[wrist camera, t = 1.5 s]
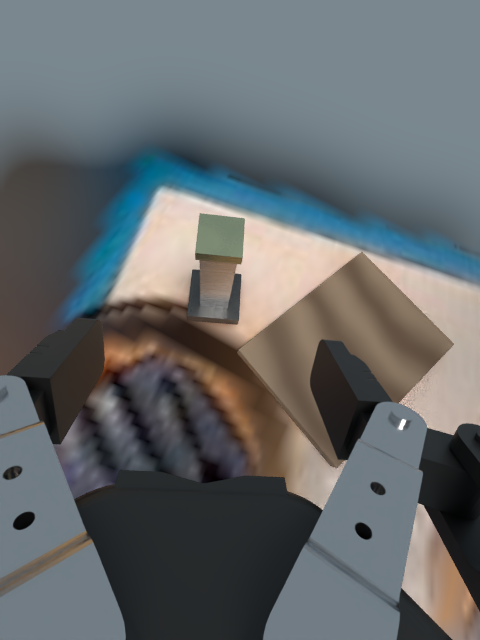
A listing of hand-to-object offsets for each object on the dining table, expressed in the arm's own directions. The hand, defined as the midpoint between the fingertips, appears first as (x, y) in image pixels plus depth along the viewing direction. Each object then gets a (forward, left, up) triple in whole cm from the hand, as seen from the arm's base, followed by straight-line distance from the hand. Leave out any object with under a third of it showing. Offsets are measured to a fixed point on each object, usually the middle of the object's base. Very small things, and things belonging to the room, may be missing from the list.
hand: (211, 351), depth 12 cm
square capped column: (-8, -9, -23) cm, 26 cm away
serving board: (-16, +5, -23) cm, 28 cm away
